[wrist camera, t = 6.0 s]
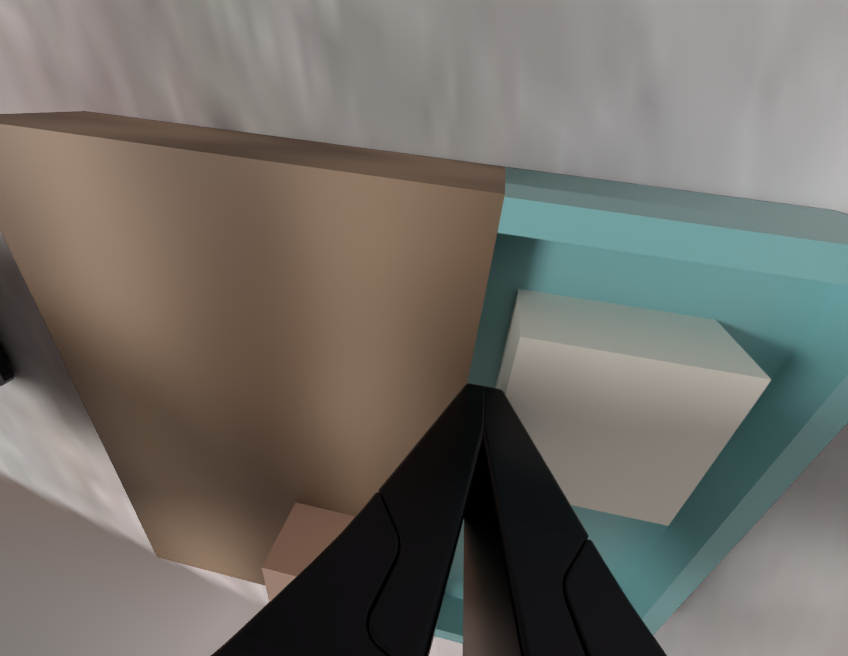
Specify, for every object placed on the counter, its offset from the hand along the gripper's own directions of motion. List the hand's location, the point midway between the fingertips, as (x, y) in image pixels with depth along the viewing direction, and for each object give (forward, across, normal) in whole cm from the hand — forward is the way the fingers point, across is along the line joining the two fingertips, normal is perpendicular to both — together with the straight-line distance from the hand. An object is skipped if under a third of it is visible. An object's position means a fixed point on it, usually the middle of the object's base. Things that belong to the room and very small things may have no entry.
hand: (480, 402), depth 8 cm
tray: (+4, -3, +4) cm, 6 cm away
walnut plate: (+4, +6, +4) cm, 8 cm away
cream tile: (+2, -2, 0) cm, 3 cm away
